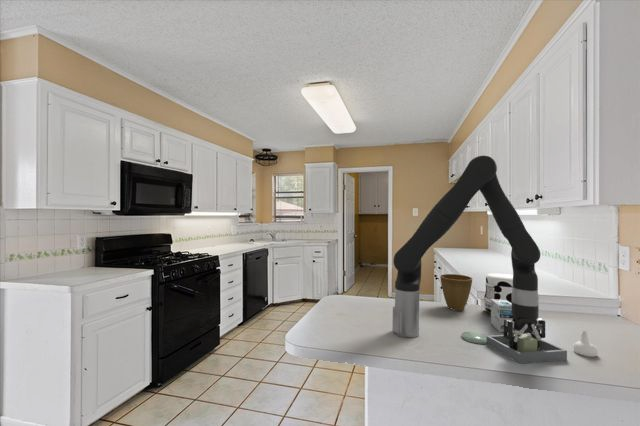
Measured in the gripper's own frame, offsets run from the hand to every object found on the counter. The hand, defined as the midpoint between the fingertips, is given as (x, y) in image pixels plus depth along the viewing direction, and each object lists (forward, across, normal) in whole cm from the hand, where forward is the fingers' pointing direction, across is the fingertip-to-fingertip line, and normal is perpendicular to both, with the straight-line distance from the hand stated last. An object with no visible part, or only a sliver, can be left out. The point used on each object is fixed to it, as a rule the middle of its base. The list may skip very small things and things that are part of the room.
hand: (524, 351), depth 103 cm
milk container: (+1, +27, +40) cm, 48 cm away
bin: (+1, +2, +2) cm, 3 cm away
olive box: (+1, 0, 0) cm, 1 cm away
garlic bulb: (+2, +22, -2) cm, 22 cm away
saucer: (+1, -7, +14) cm, 16 cm away
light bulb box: (+1, +12, +23) cm, 26 cm away
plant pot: (+1, +9, +51) cm, 52 cm away
